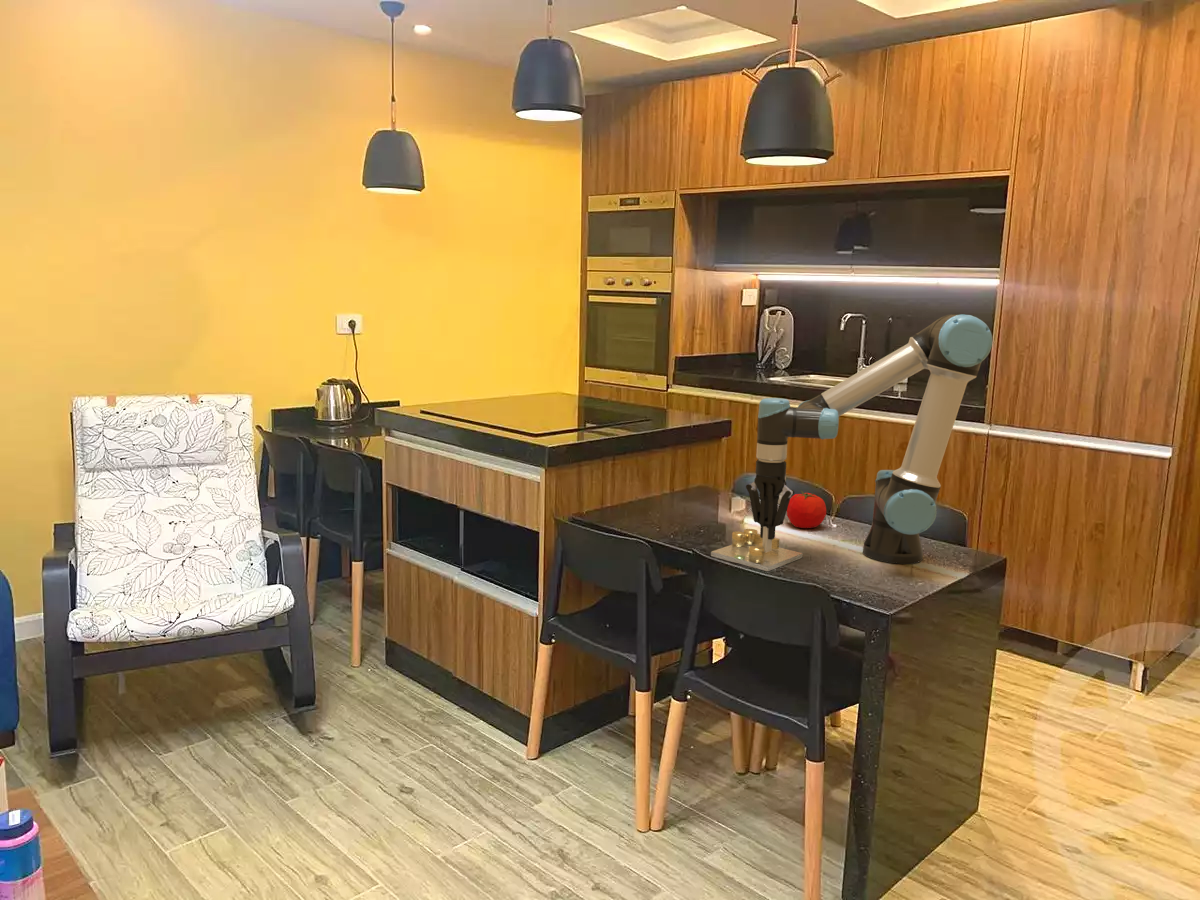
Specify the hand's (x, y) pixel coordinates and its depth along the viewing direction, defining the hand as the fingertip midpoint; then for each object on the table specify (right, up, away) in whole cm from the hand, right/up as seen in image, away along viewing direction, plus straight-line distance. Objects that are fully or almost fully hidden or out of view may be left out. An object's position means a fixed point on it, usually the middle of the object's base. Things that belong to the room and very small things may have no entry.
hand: (766, 550), depth 228 cm
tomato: (+18, +3, +36) cm, 40 cm away
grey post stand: (+19, +7, +62) cm, 65 cm away
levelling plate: (-2, -2, +4) cm, 4 cm away
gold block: (0, 0, +9) cm, 9 cm away
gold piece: (-2, -1, -1) cm, 3 cm away
